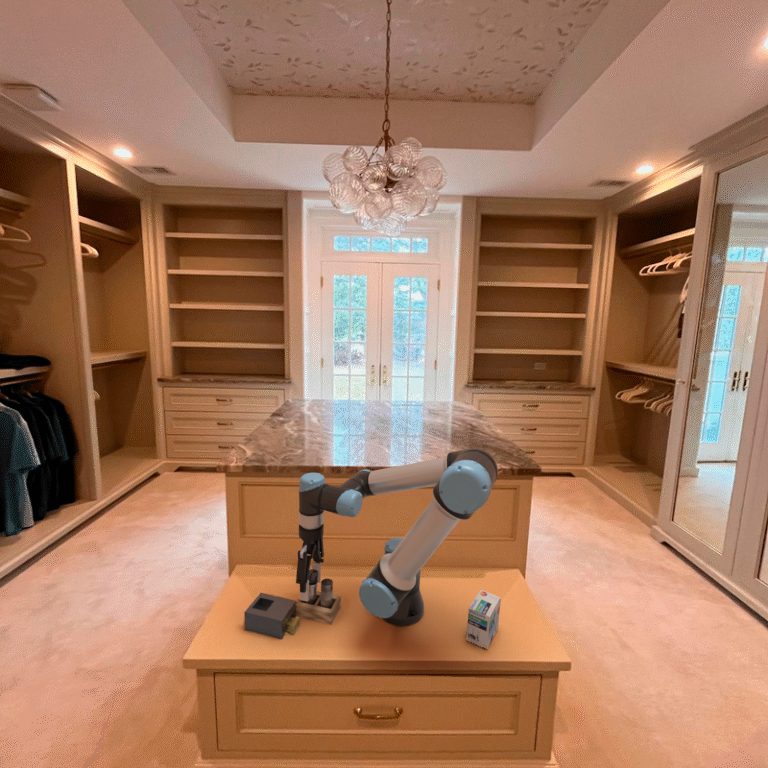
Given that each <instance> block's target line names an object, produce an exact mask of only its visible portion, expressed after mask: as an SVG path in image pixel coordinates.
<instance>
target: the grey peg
mask: <svg viewBox="0 0 768 768" xmlns="http://www.w3.org/2000/svg"><path fill="white" fill-rule="evenodd" d="M308 580H309V600H308V601H305V603H306V604H311V605H315V603H316V597H317V591H318V584H319V583H318V571H317V570H315V569H312V568H311V569H309V575H308Z"/></svg>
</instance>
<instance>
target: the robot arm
mask: <svg viewBox="0 0 768 768" xmlns="http://www.w3.org/2000/svg"><path fill="white" fill-rule="evenodd" d="M498 468H499V467H498V464H497V461H496V460H495V458H494V456H493V455H492V454H490V452H488V451H487V450H485V449H482V448H477V447H469V448H465V449H460V450H457V451H451V452H448V453H447V454H446V455H445V456H443V457H438V458H433V459H427V460H424V461H418V462H411V463H408V464H407V463H406V464H402V465H401V464H400V465H398V466H397V465H396V466H392V467H387V468H381V469H377V470H370V469H361V470H360V471H358V472H356V473H355V474H354V475H352V476H351V477H350V478H347V480H346V481H344V482H343V483H342V484H340V485H339V486H336V485H333V484H328V483H326V481H325V476H324V475H323V474H322V473H319V472H308V473H307V472H306V473H304V474H303V475H302V476H301V477H299V485H298V506H299V507H298V512H297V514H298V537H299V538H300V539H301V540H302V546H301V548H302V550H297V565H296V576H295V583H296V584H299V598H300V599H298V600H303V601H308V600H309V580H308V575H309V570H311V569H315V570H317V571H318V584H321V581H322V579H321V578H322V576H321V574H322V573H321V572H322V571H321V570H322V564H324V562H325V559H324V557H325V550H324V527H325V524H324V523H325V511H326V512H328V513H332V514H334V515H339V516H342V517H349V518H355V517H357V516H358V515H359V514H360V511H361V509H362V507H363V502H364V501H363V500H364V498H367V497H373V496H374V497H375V496H379V495H385V494H393V493H396V492H397V493H398V492H404V491H410V490H418V489H422V488H424V489H425V488H429V487H433V488H432V495H433V496H432V497H433V498H432V500H431V501H430V502H429V503H428V504H427V506H426V508H425V509H424V510H423V511H422V513H421V514H420V515H419V517H418V518H417V519H416V521H415V522H414V523H413V524H412V526H411V527H410V528H409V530H408V531H407V533H406V534H405V535H404V537H394V538H391V539H388V540H387V541H386V542H385V544H384V549H383V550H384V554H383V556H382V557H381V558H380V559H379V560H378V562H377V563H376V565H375V566H374V567H373V569H372V570H371V571H370V573H369V574H368V575H367V576H366V577H365V578H364V579H363V580H362V582H361V584H360V586H359V590H358V592H359V593H358V594H359V595H358V596H359V598H360V602H361V604H362V606H363V607H364V608H365V609H366V610H367V612H369V613H370V614H371V615H373V616H374V617H376V618H380V619H381V620H383V621H384V622H385V623H388V624H390V625H393V626H398V627H408V626H411V625H414V624H417V622H419V621H420V620H422V618H423V616H424V610H425V607H424V606H425V605H424V603H425V602H424V599H423V595H422V593H421V590H420V587H421V586H420V585H421V583H420V582H421V572H422V571H421V569H422V568H423V567H424V566H425V564H426V563H427V562H428V560H429V559H430V558H431V557H432V556H433V554H434V553H435V552H436V551H437V549H438V548H440V546H441V545H442V543H443V542H444V540H445V539H446V538H447V537H448V536H449V535H450V533H451V532H452V531H453V530H454V528H455V527H456V526H457V524H458V523H460V521H468V520H469V519H471V518H472V516H473V515H474V514H475V512H477V511H479V510H480V509H481V508H482V507H483V506H484V505H485V504H486V503H487V502H488V500H489V497H490V495H491V491H492V490H493V487H494V484H495V483H496V481H497V479H498V475H499V474H498V473H499V469H498ZM312 561H313V562H312ZM310 568H311V569H310Z"/></svg>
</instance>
